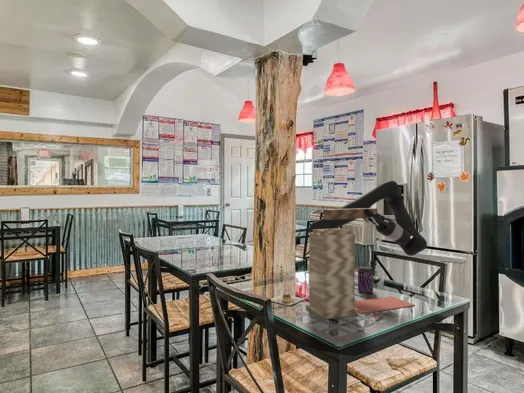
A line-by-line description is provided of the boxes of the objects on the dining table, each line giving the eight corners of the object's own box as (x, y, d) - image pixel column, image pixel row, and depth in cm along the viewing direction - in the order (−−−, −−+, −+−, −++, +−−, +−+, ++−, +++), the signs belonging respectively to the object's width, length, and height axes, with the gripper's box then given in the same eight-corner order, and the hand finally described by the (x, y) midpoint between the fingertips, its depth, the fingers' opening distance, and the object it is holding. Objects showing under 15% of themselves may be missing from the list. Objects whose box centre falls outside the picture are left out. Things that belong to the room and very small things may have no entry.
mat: (361, 313, 146) (361, 312, 146) (341, 303, 159) (341, 303, 159) (414, 305, 157) (414, 304, 157) (391, 297, 170) (391, 296, 170)
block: (328, 219, 146) (328, 209, 146) (323, 219, 150) (323, 209, 150) (377, 217, 155) (377, 208, 155) (371, 217, 159) (371, 208, 158)
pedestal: (323, 319, 140) (324, 232, 139) (305, 308, 153) (306, 228, 152) (358, 314, 146) (358, 230, 145) (338, 304, 159) (338, 227, 158)
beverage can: (362, 294, 174) (362, 269, 174) (355, 290, 181) (355, 266, 181) (375, 293, 176) (376, 268, 176) (367, 289, 183) (368, 265, 183)
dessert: (283, 296, 172) (283, 286, 172) (305, 301, 165) (305, 290, 165) (267, 302, 163) (267, 291, 163) (289, 307, 156) (289, 296, 155)
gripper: (381, 220, 167) (354, 201, 161) (404, 222, 154) (376, 202, 148) (375, 234, 166) (347, 216, 160) (397, 238, 153) (368, 219, 147)
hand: (361, 210), depth 154 cm, fingers closed on block, 4 cm apart
